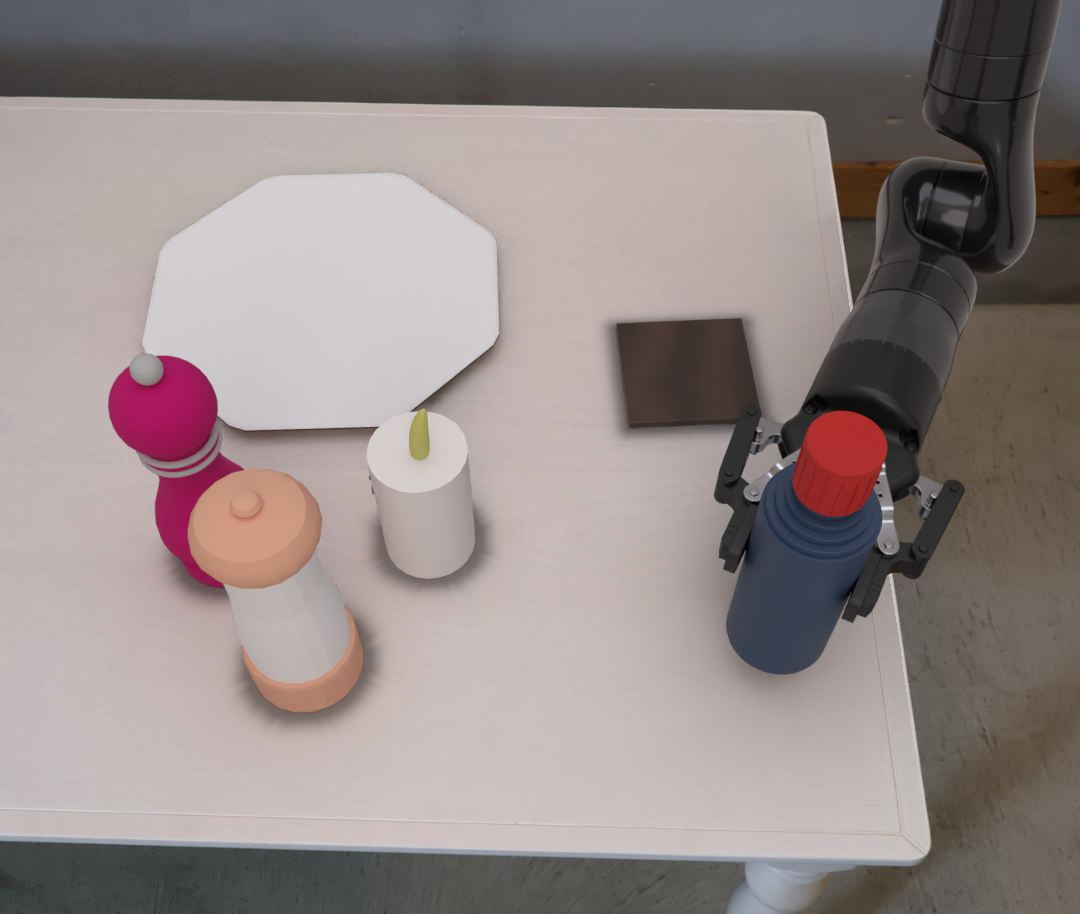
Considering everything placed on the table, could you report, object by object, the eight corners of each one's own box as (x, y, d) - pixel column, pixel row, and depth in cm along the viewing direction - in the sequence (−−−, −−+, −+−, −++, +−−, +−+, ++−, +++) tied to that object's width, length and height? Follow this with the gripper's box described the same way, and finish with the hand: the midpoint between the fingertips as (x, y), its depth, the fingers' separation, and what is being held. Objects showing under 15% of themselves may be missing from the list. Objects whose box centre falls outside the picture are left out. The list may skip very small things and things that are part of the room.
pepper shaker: (326, 731, 70) (263, 582, 54) (230, 684, 72) (142, 526, 56) (384, 639, 74) (342, 472, 57) (291, 596, 75) (225, 422, 59)
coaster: (740, 322, 89) (741, 317, 88) (760, 421, 83) (762, 417, 83) (615, 328, 88) (616, 322, 88) (628, 428, 83) (629, 423, 83)
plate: (129, 445, 82) (123, 432, 81) (178, 190, 96) (173, 176, 95) (502, 434, 83) (501, 421, 81) (494, 182, 97) (494, 169, 96)
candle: (400, 493, 80) (374, 354, 67) (486, 513, 79) (477, 376, 66) (369, 565, 77) (337, 434, 64) (459, 588, 76) (444, 459, 63)
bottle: (816, 582, 72) (895, 393, 56) (836, 672, 69) (925, 499, 52) (719, 587, 72) (768, 400, 56) (733, 678, 69) (790, 507, 52)
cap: (860, 451, 58) (878, 407, 55) (877, 515, 56) (896, 473, 53) (785, 456, 58) (798, 412, 54) (799, 520, 56) (813, 478, 52)
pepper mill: (159, 536, 78) (54, 344, 61) (252, 489, 80) (176, 291, 63) (202, 612, 75) (103, 432, 58) (298, 562, 77) (231, 373, 60)
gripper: (782, 301, 68) (676, 505, 60) (1016, 381, 65) (935, 609, 57) (763, 379, 74) (665, 573, 67) (974, 456, 71) (897, 670, 63)
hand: (790, 589), depth 62 cm, fingers closed on bottle, 6 cm apart
